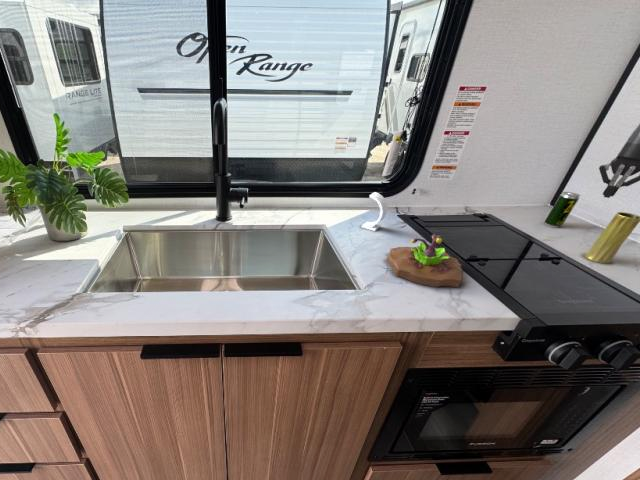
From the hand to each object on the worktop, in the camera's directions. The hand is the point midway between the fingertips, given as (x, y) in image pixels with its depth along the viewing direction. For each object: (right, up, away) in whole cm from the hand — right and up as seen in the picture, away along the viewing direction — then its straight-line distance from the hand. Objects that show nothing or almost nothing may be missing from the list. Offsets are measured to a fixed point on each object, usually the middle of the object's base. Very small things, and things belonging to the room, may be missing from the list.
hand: (606, 196), depth 111 cm
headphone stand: (-78, -9, +8) cm, 79 cm away
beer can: (-7, -7, +13) cm, 16 cm away
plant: (-73, -27, -17) cm, 79 cm away
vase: (-14, -23, -10) cm, 29 cm away
